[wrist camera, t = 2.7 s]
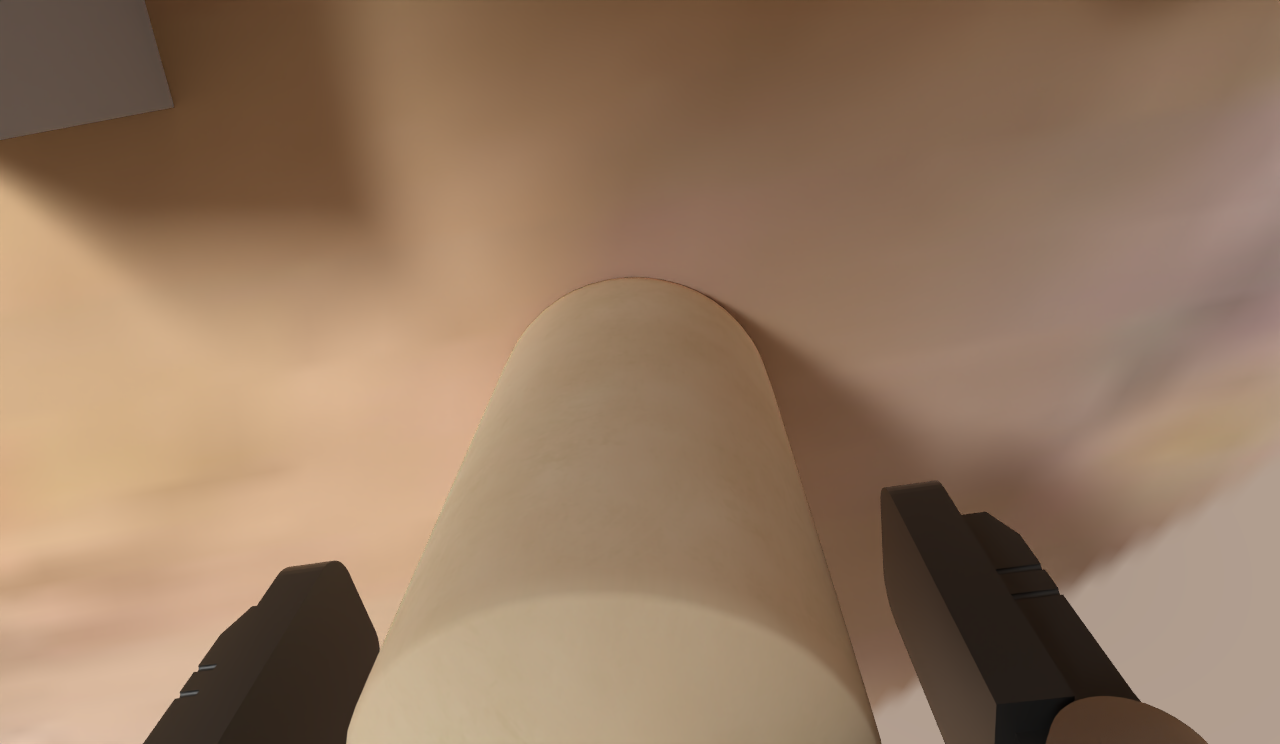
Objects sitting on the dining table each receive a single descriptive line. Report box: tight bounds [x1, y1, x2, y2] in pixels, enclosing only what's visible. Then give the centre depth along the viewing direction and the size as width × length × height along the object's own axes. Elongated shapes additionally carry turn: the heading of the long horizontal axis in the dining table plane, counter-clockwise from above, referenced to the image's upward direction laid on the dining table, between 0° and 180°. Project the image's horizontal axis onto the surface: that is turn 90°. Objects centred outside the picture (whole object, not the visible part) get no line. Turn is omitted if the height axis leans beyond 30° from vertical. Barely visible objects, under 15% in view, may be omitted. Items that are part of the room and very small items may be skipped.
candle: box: [346, 277, 881, 744], centre depth 11 cm, size 6×6×10 cm
